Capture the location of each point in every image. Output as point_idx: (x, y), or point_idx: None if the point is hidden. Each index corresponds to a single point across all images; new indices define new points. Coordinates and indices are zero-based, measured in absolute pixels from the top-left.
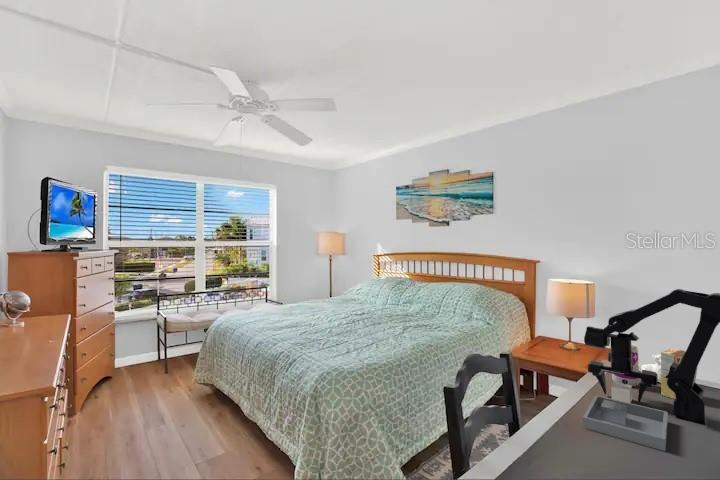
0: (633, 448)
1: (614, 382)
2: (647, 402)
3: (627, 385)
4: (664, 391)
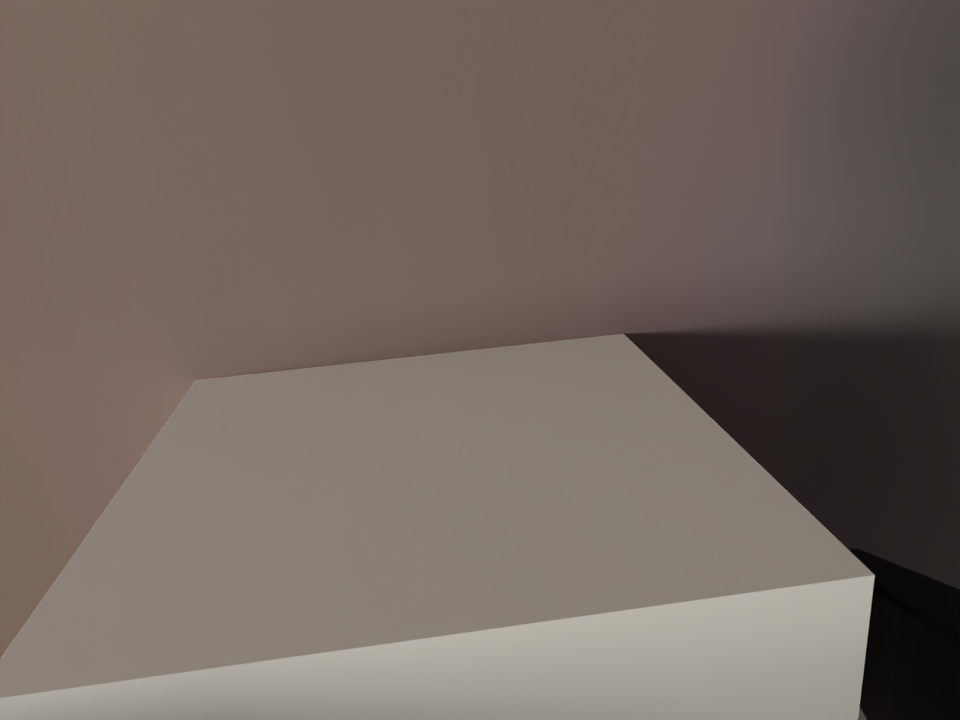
0: None
1: (10, 717)
2: (951, 186)
3: (682, 663)
4: None
